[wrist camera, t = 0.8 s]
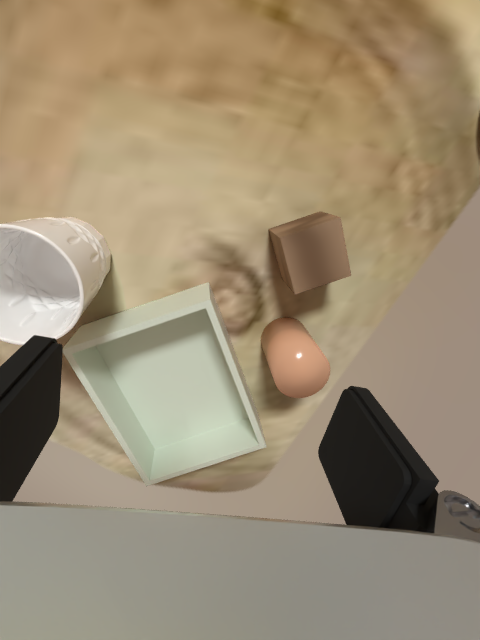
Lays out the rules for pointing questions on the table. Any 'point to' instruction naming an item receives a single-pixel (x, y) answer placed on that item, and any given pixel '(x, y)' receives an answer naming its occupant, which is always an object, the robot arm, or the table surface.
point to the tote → (168, 384)
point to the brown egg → (294, 358)
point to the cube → (311, 251)
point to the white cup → (48, 275)
